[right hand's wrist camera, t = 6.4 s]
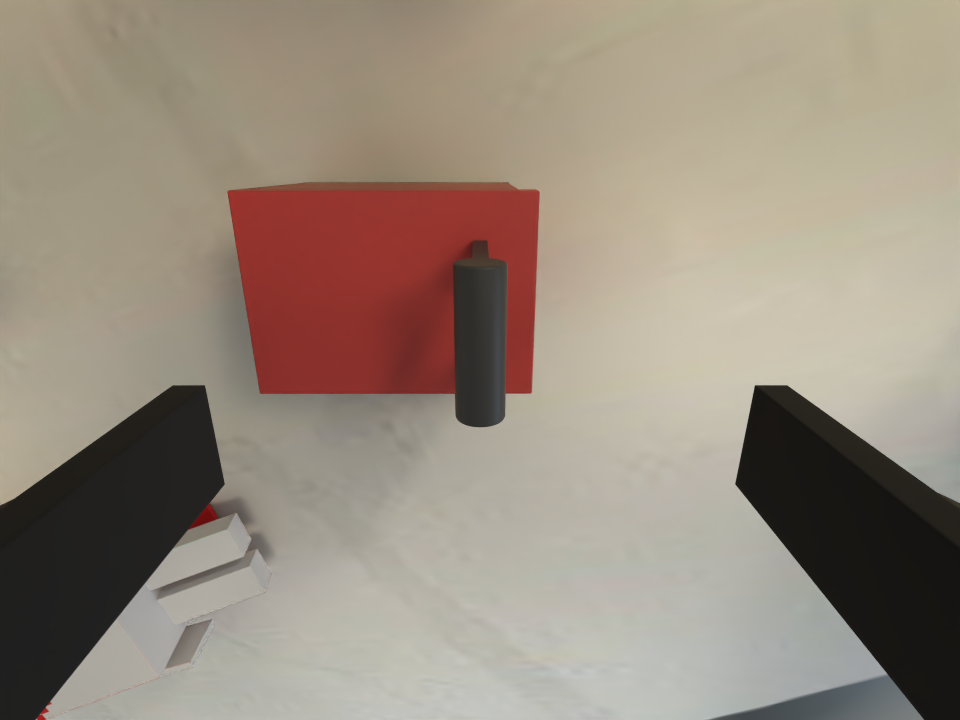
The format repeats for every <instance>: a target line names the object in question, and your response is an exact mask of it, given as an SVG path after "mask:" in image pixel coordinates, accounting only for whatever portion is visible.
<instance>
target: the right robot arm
mask: <svg viewBox="0 0 960 720" xmlns="http://www.w3.org/2000/svg"><path fill="white" fill-rule="evenodd" d="M224 484H225V483H224V478H223V473H222V468H221V463H220V458H219V453H218V448H217V443H216V438H215V433H214V428H213V423H212V418H211V413H210V408H209V403H208V398H207V393H206V388H205V385H173V386H171V387H170V388H169V389H167V390H166V391H164V392H163V393H162V394H160V395H159V396H157V397H156V398H155V399H153V400H152V401H150V402H149V403H148V404H146V405H145V406H143V407H142V408H141V409H139V410H138V411H136V412H135V413H134V414H132V415H131V416H129V417H128V418H127V419H125V420H124V421H122V422H121V423H120V424H118V425H117V426H115V427H114V428H113V429H111V430H110V431H108V432H107V433H106V434H104V435H103V436H101V437H100V438H99V439H97V440H96V441H94V442H93V443H92V444H90V445H89V446H88V447H86V448H85V449H83V450H82V451H81V452H79V453H78V454H76V455H75V456H74V457H72V458H71V459H69V460H68V461H67V462H65V463H64V464H62V465H61V466H60V467H58V468H57V469H55V470H54V471H53V472H51V473H50V474H48V475H47V476H46V477H44V478H43V479H41V480H40V481H39V482H37V483H36V484H34V485H33V486H32V487H30V488H29V489H27V490H26V491H25V492H23V493H22V494H20V495H19V496H18V497H16V498H15V499H13V500H11V501H9V502H7V503H5V504H3V505H1V506H0V720H36V719H37V718H38V716H39V715H40V714H41V713H42V711H43V710H44V709H45V708H46V706H47V705H48V704H49V703H50V701H51V700H52V699H53V698H54V696H55V695H56V694H57V693H58V691H59V690H60V689H61V688H62V686H63V685H64V684H65V683H66V681H67V680H68V679H69V678H70V676H71V675H72V674H73V673H74V671H75V670H76V669H77V668H78V666H79V665H80V664H81V663H82V661H83V660H84V659H85V658H86V656H87V655H88V654H89V653H90V651H91V650H92V649H93V648H94V646H95V645H96V644H97V643H98V641H99V640H100V639H101V638H102V637H103V635H104V634H105V633H106V632H107V630H108V629H109V628H110V627H111V625H112V624H113V623H114V622H115V620H116V619H117V618H118V617H119V615H120V614H121V613H122V612H123V610H124V609H125V608H126V607H127V605H128V604H129V603H130V602H131V600H132V599H133V598H134V597H135V595H136V594H137V593H138V592H139V590H140V589H141V588H142V587H143V585H144V584H145V583H146V582H147V580H148V579H149V578H150V577H151V575H152V574H153V573H154V572H155V570H156V569H157V568H158V567H159V565H160V564H161V563H162V562H163V560H164V559H165V558H166V557H167V555H168V554H169V553H170V552H171V550H172V549H173V548H174V547H175V545H176V544H177V543H178V542H179V540H180V539H181V538H182V537H183V536H184V534H185V533H186V532H187V531H188V529H189V528H190V527H191V526H192V524H193V523H194V522H195V521H196V519H197V518H198V517H199V516H200V514H201V513H202V512H203V511H204V509H205V508H206V507H207V506H208V504H209V503H210V502H211V501H212V499H213V498H214V497H215V496H216V494H217V493H218V492H219V491H220V489H221V488H222V487H223V486H224ZM735 484H736V486H737V487H738V488H739V489H740V491H741V492H742V493H743V494H744V496H745V497H746V498H747V499H748V501H749V502H750V503H751V504H752V506H753V507H754V508H755V509H756V511H757V512H758V513H759V514H760V516H761V517H762V518H763V519H764V521H765V522H766V523H767V524H768V526H769V527H770V528H771V529H772V531H773V532H774V533H775V534H776V536H777V537H778V538H779V539H780V540H781V542H782V543H783V544H784V545H785V547H786V548H787V549H788V550H789V552H790V553H791V554H792V555H793V557H794V558H795V559H796V560H797V562H798V563H799V564H800V565H801V567H802V568H803V569H804V570H805V572H806V573H807V574H808V575H809V577H810V578H811V579H812V580H813V582H814V583H815V584H816V585H817V587H818V588H819V589H820V590H821V592H822V593H823V594H824V595H825V597H826V598H827V599H828V600H829V602H830V603H831V604H832V605H833V607H834V608H835V609H836V610H837V612H838V613H839V614H840V615H841V617H842V618H843V619H844V620H845V622H846V623H847V624H848V625H849V627H850V628H851V629H852V630H853V632H854V633H855V634H856V635H857V637H858V638H859V639H860V640H861V641H862V643H863V644H864V645H865V646H866V648H867V649H868V650H869V651H870V653H871V654H872V655H873V656H874V658H875V659H876V660H877V661H878V663H879V664H880V665H881V666H882V668H883V669H884V670H885V671H886V673H887V674H888V675H889V676H890V678H891V679H892V680H893V681H894V683H895V684H896V685H897V686H898V688H899V689H900V690H901V691H902V693H903V694H904V695H905V696H906V698H907V699H908V700H909V701H910V703H911V704H912V705H913V706H914V708H915V709H916V710H917V711H918V713H919V714H920V715H921V716H922V718H923V719H924V720H960V503H958V502H956V501H954V500H952V499H950V498H948V497H946V496H943V495H941V494H939V493H937V492H935V491H934V490H933V489H931V488H930V487H928V486H927V485H926V484H924V483H923V482H921V481H920V480H919V479H917V478H916V477H914V476H913V475H912V474H910V473H909V472H907V471H906V470H905V469H903V468H902V467H900V466H899V465H898V464H896V463H895V462H893V461H892V460H891V459H889V458H888V457H886V456H885V455H884V454H882V453H881V452H879V451H878V450H877V449H875V448H874V447H872V446H871V445H870V444H868V443H867V442H865V441H864V440H863V439H861V438H860V437H859V436H857V435H856V434H854V433H853V432H852V431H850V430H849V429H847V428H846V427H845V426H843V425H842V424H840V423H839V422H838V421H836V420H835V419H833V418H832V417H831V416H829V415H828V414H826V413H825V412H824V411H822V410H821V409H819V408H818V407H817V406H815V405H814V404H812V403H811V402H810V401H808V400H807V399H805V398H804V397H803V396H801V395H800V394H798V393H797V392H796V391H794V390H793V389H791V388H790V387H789V386H787V385H755V388H754V393H753V398H752V403H751V408H750V413H749V418H748V423H747V428H746V433H745V438H744V443H743V448H742V453H741V458H740V463H739V468H738V473H737V478H736V483H735Z"/></svg>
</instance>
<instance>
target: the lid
mask: <svg viewBox="0 0 960 720" xmlns="http://www.w3.org/2000/svg"><path fill="white" fill-rule="evenodd" d="M228 198H229V204H230V210H231V216H232V222H233V229H234V235H235V241H236V247H237V254H238V260H239V266H240V272H241V278H242V285H243V291H244V297H245V303H246V309H247V316H248V322H249V328H250V334H251V341H252V347H253V353H254V359H255V365H256V372H257V378H258V384H259V390H260V393H261V394H455V409H456V418H457V420H458V421H459V422H461V423H462V424H465V425H468V426H472V427H488V426H493V425H496V424H498V423H500V422H501V421H502V420H503V419H504V417H505V393H532V376H533V349H534V323H535V297H536V270H537V244H538V217H539V191H538V190H229V191H228Z"/></svg>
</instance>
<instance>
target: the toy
mask: <svg viewBox="0 0 960 720" xmlns="http://www.w3.org/2000/svg"><path fill="white" fill-rule="evenodd" d="M251 540H252V539H251V537H250V535H249V534H248V532H247V530H246V529H245V527H244V525H243V523H242V522H241V520H240V518H239V517H238V515H237V513H234V514H231V515H228V516H225V517H223V518H220V519H219V518H218V517H217V515H216V513H215V512H214V510H213V509H212V507H211V506H210V504H208V506H207V507H206V508H205V509H204V511H203V512H202V513H201V514H200V516H199V517H198V518H197V519H196V521H195V522H194V523H193V524H192V526H191V527H190V528H189V529H188V531H187V532H186V533H185V534H184V536H183V537H182V538H181V539H180V540H179V542H178V543H177V544H176V545H175V547H174V548H173V549H172V550H171V552H170V553H169V554H168V555H167V557H166V558H165V559H164V560H163V562H162V563H161V564H160V565H159V567H158V568H157V569H156V570H155V572H154V573H153V574H152V575H151V577H150V578H149V579H148V580H147V582H146V583H145V584H144V585H143V587H142V588H141V589H140V590H139V592H138V593H137V594H136V595H135V597H134V598H133V599H132V600H131V602H130V603H129V604H128V605H127V607H126V608H125V609H124V610H123V612H122V613H121V614H120V615H119V617H118V618H117V619H116V620H115V622H114V623H113V624H112V625H111V627H110V628H109V629H108V630H107V632H106V633H105V634H104V635H103V637H102V638H101V639H100V640H99V641H98V643H97V644H96V645H95V646H94V648H93V649H92V650H91V651H90V653H89V654H88V655H87V656H86V658H85V659H84V660H83V661H82V663H81V664H80V665H79V666H78V668H77V669H76V670H75V671H74V673H73V674H72V675H71V676H70V678H69V679H68V680H67V681H66V683H65V684H64V685H63V686H62V688H61V689H60V690H59V691H58V693H57V694H56V695H55V696H54V698H53V699H52V700H51V701H50V703H49V704H48V705H47V706H46V708H45V709H44V710H43V711H42V713H41V714H40V715H39V716H38V718H37V719H36V720H46V719H48V718H51V717H54V716H56V715H59V714H62V713H65V712H67V711H70V710H73V709H75V708H78V707H81V706H84V705H86V704H89V703H92V702H94V701H97V700H100V699H103V698H105V697H108V696H111V695H113V694H116V693H119V692H122V691H124V690H127V689H130V688H132V687H135V686H138V685H141V684H143V683H146V682H149V681H151V680H154V679H157V678H160V677H161V676H164V675H168V674H172V673H175V672H179V671H182V670H186V669H190V668H193V666H194V664H195V662H196V660H197V658H198V656H199V654H200V652H201V650H202V648H203V646H204V644H205V642H206V640H207V638H208V636H209V634H210V632H211V630H212V628H213V626H214V622H213V620H208V621H204V622H201V623H197V624H193V625H190V626H187V624H188V622H189V620H191V619H193V618H196V617H199V616H202V615H204V614H207V613H210V612H212V611H215V610H218V609H221V608H223V607H226V606H229V605H232V604H234V603H237V602H240V601H242V600H245V599H248V598H251V597H253V596H256V595H259V594H262V593H264V592H265V591H266V588H267V585H268V583H269V580H270V577H271V574H272V573H271V571H270V570H269V568H268V566H267V565H266V563H265V561H264V559H263V558H262V556H261V554H260V553H259V551H258V549H254V550H251V551H249V552H246V551H247V548H248V546H249V544H250V542H251Z"/></svg>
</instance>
